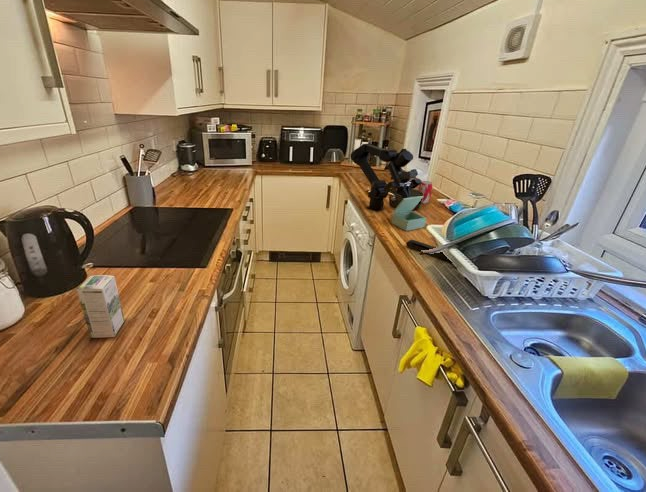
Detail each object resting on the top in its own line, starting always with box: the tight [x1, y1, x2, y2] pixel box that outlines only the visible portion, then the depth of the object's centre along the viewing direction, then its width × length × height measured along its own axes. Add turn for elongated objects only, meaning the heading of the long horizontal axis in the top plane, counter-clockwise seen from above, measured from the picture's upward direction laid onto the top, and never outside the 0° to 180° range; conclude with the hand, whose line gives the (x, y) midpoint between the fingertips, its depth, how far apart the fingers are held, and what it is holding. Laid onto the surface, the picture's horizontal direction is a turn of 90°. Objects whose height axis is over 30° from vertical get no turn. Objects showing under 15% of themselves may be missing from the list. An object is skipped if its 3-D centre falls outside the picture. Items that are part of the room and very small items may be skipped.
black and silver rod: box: [406, 239, 452, 263], centre depth 117 cm, size 18×3×3 cm, turn 47°
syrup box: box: [76, 274, 125, 339], centre depth 73 cm, size 6×6×14 cm
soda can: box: [417, 180, 434, 205], centre depth 172 cm, size 7×7×12 cm
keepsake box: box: [391, 210, 427, 232], centre depth 142 cm, size 10×12×5 cm
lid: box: [392, 196, 423, 214], centre depth 141 cm, size 10×12×1 cm
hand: (409, 201), depth 139 cm, fingers closed, pressing on lid
